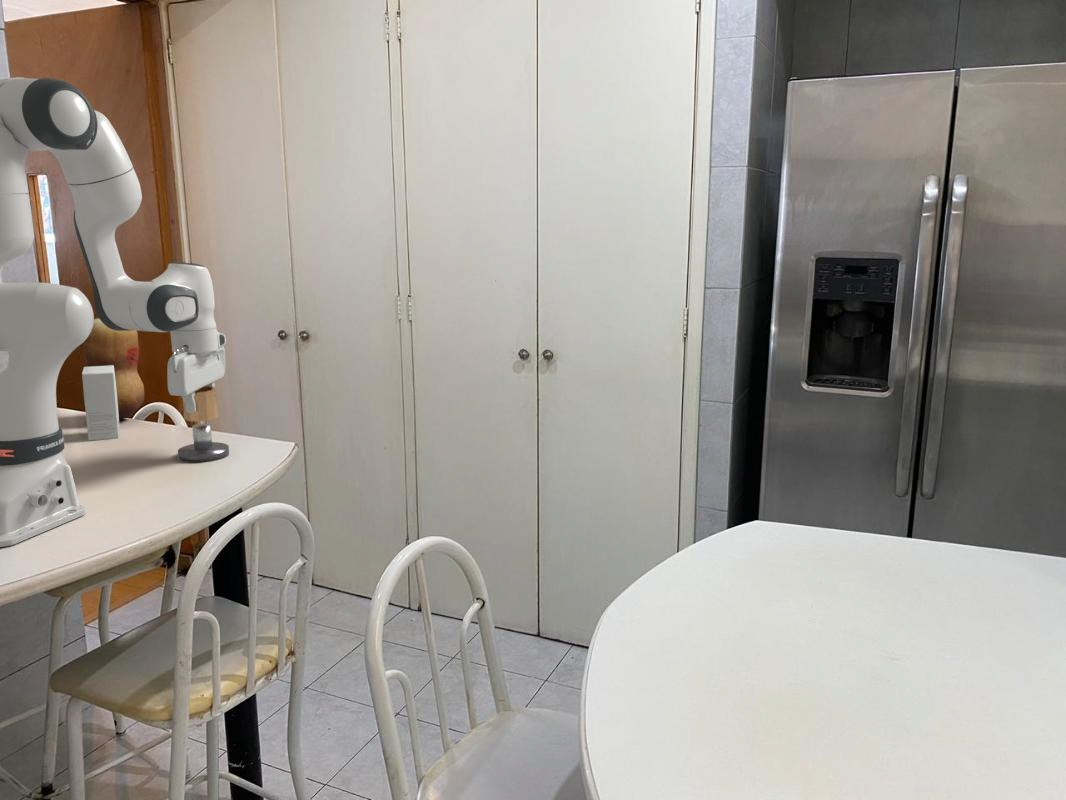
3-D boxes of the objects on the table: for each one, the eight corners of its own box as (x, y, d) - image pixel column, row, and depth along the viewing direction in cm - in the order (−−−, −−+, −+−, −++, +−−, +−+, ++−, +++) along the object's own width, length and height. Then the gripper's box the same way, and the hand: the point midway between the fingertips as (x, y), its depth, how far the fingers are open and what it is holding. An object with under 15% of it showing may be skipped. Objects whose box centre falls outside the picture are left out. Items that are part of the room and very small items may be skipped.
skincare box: (90, 432, 190) (82, 366, 187) (121, 429, 193) (114, 364, 189) (88, 441, 183) (80, 373, 179) (121, 438, 186) (113, 370, 182)
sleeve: (210, 421, 168) (207, 393, 167) (179, 421, 168) (176, 392, 167) (222, 413, 174) (220, 386, 173) (192, 413, 175) (190, 385, 173)
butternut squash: (128, 427, 195) (117, 322, 189) (74, 426, 196) (61, 321, 190) (157, 413, 209) (148, 315, 203) (106, 412, 209) (95, 314, 204)
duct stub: (215, 463, 168) (212, 432, 166) (168, 461, 169) (165, 431, 167) (237, 449, 178) (235, 420, 176) (193, 448, 179) (191, 419, 177)
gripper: (187, 350, 158) (194, 420, 161) (229, 334, 178) (233, 396, 181) (155, 350, 158) (162, 419, 161) (200, 334, 178) (205, 396, 181)
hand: (200, 407), depth 171 cm, fingers closed on sleeve, 6 cm apart
